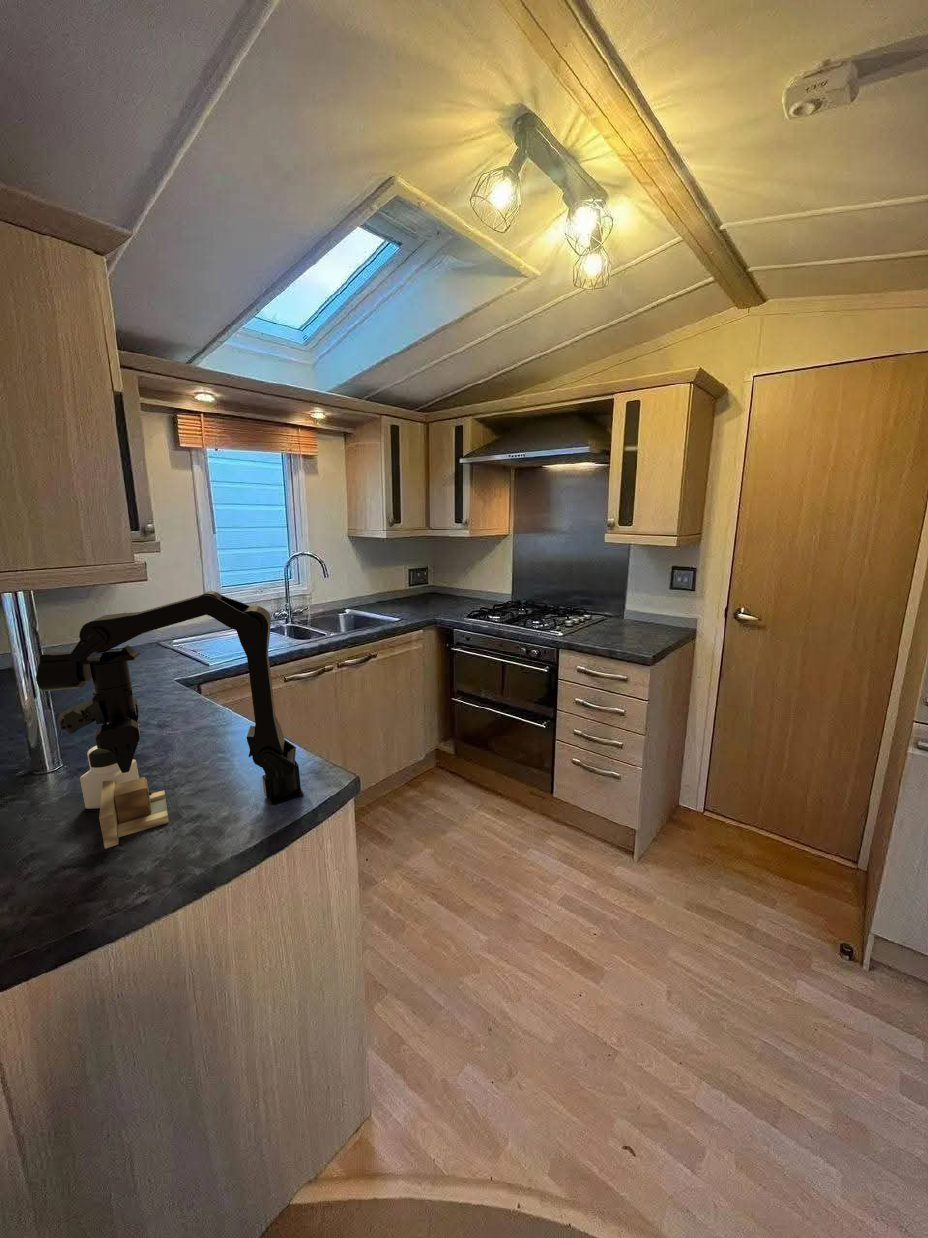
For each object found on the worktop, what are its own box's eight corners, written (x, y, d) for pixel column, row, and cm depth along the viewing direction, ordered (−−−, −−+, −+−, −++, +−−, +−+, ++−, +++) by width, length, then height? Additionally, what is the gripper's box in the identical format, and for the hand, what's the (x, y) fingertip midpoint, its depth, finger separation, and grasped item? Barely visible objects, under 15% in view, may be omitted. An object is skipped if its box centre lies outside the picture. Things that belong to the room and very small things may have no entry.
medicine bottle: (141, 789, 109) (133, 737, 107) (120, 808, 102) (111, 753, 100) (108, 790, 109) (98, 739, 106) (84, 809, 102) (74, 754, 99)
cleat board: (164, 791, 108) (160, 765, 107) (169, 828, 95) (165, 800, 93) (107, 806, 102) (103, 780, 101) (104, 848, 89) (99, 818, 88)
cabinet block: (153, 803, 102) (149, 776, 101) (154, 814, 98) (149, 786, 97) (119, 812, 99) (114, 784, 98) (119, 825, 95) (114, 796, 94)
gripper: (62, 679, 96) (77, 755, 99) (50, 709, 81) (67, 797, 84) (132, 669, 102) (143, 740, 105) (132, 695, 87) (146, 778, 90)
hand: (125, 762), depth 96 cm, fingers open, 9 cm apart
